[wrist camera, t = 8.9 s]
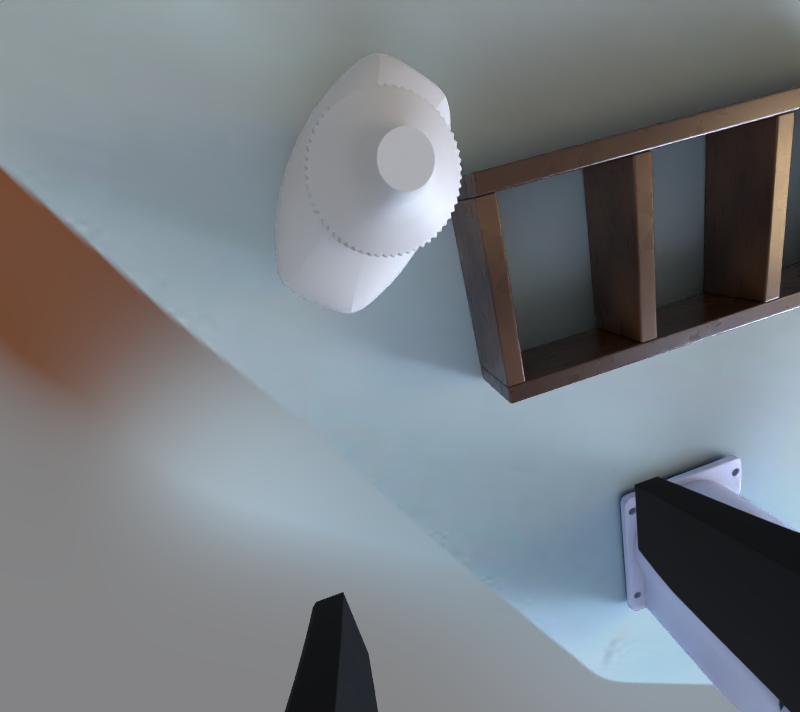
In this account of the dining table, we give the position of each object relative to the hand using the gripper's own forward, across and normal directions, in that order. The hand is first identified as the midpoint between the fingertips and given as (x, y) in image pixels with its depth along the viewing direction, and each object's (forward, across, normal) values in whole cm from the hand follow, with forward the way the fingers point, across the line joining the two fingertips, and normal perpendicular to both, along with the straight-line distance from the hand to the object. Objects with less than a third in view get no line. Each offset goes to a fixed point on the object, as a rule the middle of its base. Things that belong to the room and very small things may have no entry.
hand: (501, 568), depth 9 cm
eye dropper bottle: (+10, 0, -9) cm, 14 cm away
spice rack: (+10, -14, -4) cm, 17 cm away
